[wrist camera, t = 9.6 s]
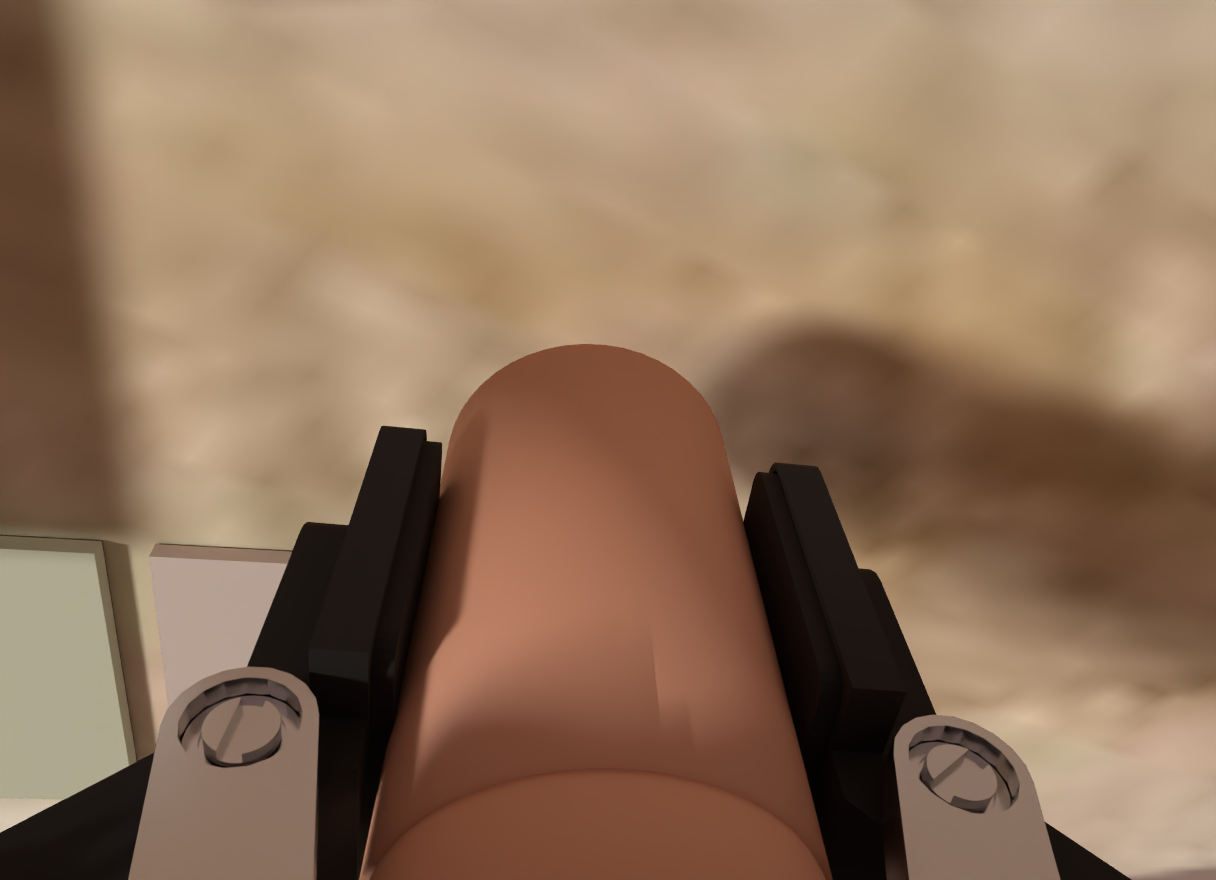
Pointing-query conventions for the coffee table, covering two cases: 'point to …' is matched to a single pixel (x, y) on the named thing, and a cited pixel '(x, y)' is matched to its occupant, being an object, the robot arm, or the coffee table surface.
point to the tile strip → (108, 650)
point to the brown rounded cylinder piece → (591, 649)
